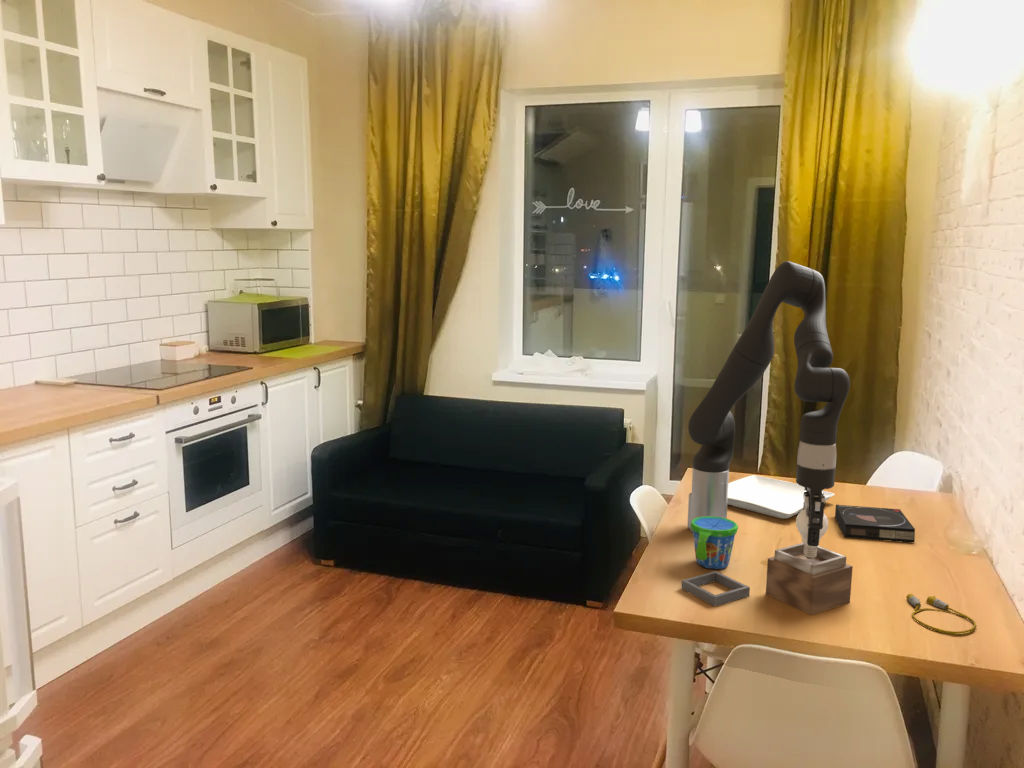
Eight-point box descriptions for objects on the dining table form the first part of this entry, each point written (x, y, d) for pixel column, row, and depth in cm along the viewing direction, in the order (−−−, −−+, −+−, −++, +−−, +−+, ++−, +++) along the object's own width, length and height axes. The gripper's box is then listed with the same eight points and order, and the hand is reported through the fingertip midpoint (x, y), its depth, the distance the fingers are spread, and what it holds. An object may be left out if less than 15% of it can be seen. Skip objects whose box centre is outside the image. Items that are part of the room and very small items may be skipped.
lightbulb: (788, 553, 174) (791, 504, 172) (817, 552, 174) (820, 503, 172) (801, 564, 168) (805, 514, 166) (831, 563, 168) (834, 513, 166)
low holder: (681, 588, 177) (681, 580, 176) (715, 579, 182) (715, 571, 181) (714, 606, 168) (715, 597, 168) (749, 595, 173) (749, 587, 173)
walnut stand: (765, 593, 174) (768, 549, 173) (803, 582, 180) (806, 539, 179) (811, 615, 164) (814, 568, 163) (849, 602, 170) (853, 557, 169)
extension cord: (970, 609, 168) (971, 600, 168) (979, 642, 154) (980, 632, 154) (905, 599, 173) (906, 590, 173) (908, 630, 159) (909, 620, 159)
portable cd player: (845, 539, 208) (846, 524, 208) (834, 518, 225) (835, 504, 224) (914, 545, 204) (915, 530, 204) (898, 523, 221) (899, 509, 220)
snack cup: (707, 549, 200) (709, 510, 198) (748, 560, 193) (750, 519, 191) (675, 568, 188) (677, 526, 187) (717, 580, 181) (719, 536, 180)
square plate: (752, 485, 256) (752, 473, 255) (835, 505, 236) (836, 492, 235) (702, 502, 238) (703, 490, 237) (788, 526, 218) (789, 512, 217)
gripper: (840, 473, 160) (834, 553, 162) (831, 455, 173) (825, 529, 176) (800, 470, 161) (795, 550, 164) (794, 453, 175) (789, 526, 178)
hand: (811, 539), depth 170 cm, fingers closed on lightbulb, 6 cm apart
